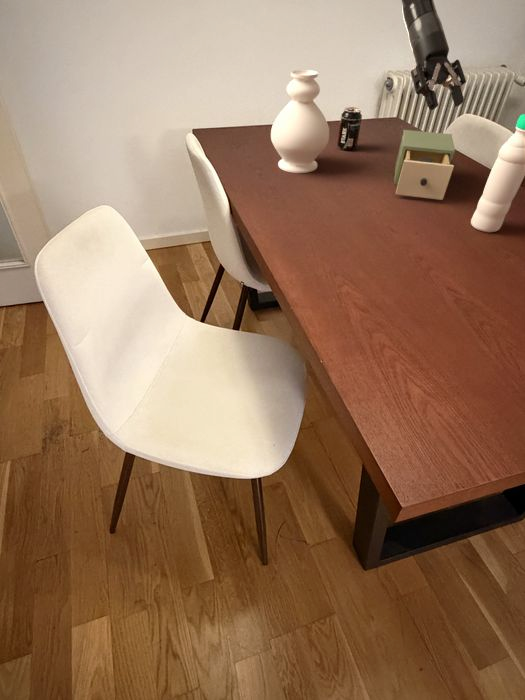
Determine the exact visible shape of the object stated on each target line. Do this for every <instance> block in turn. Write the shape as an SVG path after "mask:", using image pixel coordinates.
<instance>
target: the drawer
mask: <svg viewBox="0 0 525 700" xmlns="http://www.w3.org/2000/svg"><path fill="white" fill-rule="evenodd" d="M423 157H427V158H431V159H432V160H433V162H432V163H430V162H421V161H419V160H420V158H423ZM449 164H450V163H449V157H448V154H446V153H436V152H426V151H416V150H406V153H405V157H404V161H403V165H402V169H401V173H400V178H399V182H398V185H396V190H395V195H399V196H406V197H415V198H424V199H432V200H441V201H443V200H444V197H445V194H446V192H447V188H448V186H449V182H450V180H451V176H452V173H453V171H454V167H455V166H454V164H451V165H449Z"/></svg>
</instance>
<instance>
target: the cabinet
mask: <svg viewBox="0 0 525 700" xmlns="http://www.w3.org/2000/svg"><path fill="white" fill-rule="evenodd" d="M406 150H416V151H426V152H436V153H446V154H448V157H449V163H450V164H449V165H452V162H453V158H454V156H455V153H456V149H455V143H454V138H453V134H452V133H442V132H433V131H432V132H431V131H421V130H420V131H419V130H412V129H411V130H409V129H403V133H402V136H401V141H400V145H399V150H398V154H397V158H396V162H395V167H394V178H393V185H395V186H398V182H399V178H400V173H401V169H402V165H403V161H404V157H405V153H406Z"/></svg>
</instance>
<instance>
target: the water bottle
mask: <svg viewBox="0 0 525 700" xmlns="http://www.w3.org/2000/svg"><path fill="white" fill-rule="evenodd" d="M524 179H525V113H523V114H520V116H518V119H517V121H516V124H515V132H514V133H513V134H512V135H511V136H510V137H509V138H508V140H507V141H505V143H504V144H502V146H501V147H500V148H499V150H498V154H497V158H496V159H495V162H494V164H493V166H492V167H491V170H490V173H489V176H488V177H487V181H486V183H485V186H484V188H483V192H482V194H481V196H480V198H479V200H478V202H477V205H476V209H475V211H474V212H473V215H472V217H471V219H470V225H471V226H472V227H473V228H474V229H475V230H477V231H480V232H483V233H495V232H497V231H499V230H500V229H501V228H502V226H503V223H504V221H505V218H506V215H507V214H508V212H509V211H510V209H511V206H512V202H513V200H514V198H515V197H516V195H517V193H518V191H519V189H520V187H521V185H522V182H523V181H524Z"/></svg>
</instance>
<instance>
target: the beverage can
mask: <svg viewBox="0 0 525 700" xmlns="http://www.w3.org/2000/svg"><path fill="white" fill-rule="evenodd" d="M361 112H362V109H361V108H359V107H355V106H354V107H353V106H347V107H344V108H343V112H341V115H340V121H339V129H338V137H337V144H336V145H337V147H338V148H339V149H340V150H342V151H347V152H348V151H353V150H354V149H356V148H357V147H358V142H359V136H360V130H361V124H362V118H363V114H362V113H361Z"/></svg>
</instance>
